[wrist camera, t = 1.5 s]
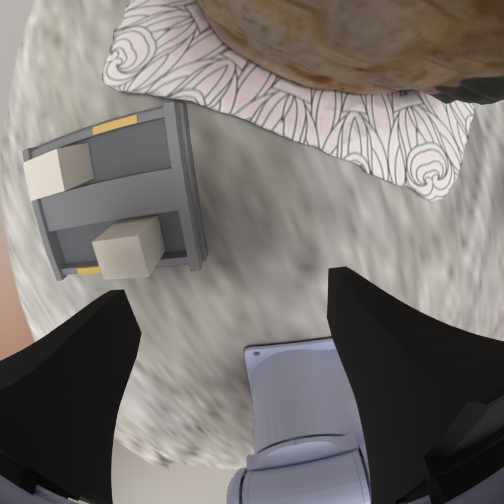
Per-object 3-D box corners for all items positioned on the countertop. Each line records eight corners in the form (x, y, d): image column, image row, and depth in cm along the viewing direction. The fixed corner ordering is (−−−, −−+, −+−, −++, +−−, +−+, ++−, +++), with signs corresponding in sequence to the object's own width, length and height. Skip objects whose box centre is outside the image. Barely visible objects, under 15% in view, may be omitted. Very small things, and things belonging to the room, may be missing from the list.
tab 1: (88, 142, 15) (56, 148, 11) (94, 178, 16) (64, 191, 12) (55, 154, 15) (22, 162, 12) (61, 187, 16) (30, 201, 12)
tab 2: (157, 215, 17) (138, 235, 14) (165, 250, 18) (149, 277, 15) (116, 221, 17) (91, 241, 14) (125, 254, 18) (104, 280, 15)
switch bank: (186, 103, 15) (177, 100, 13) (207, 254, 19) (203, 269, 17) (39, 147, 15) (20, 152, 13) (68, 267, 19) (55, 280, 17)
